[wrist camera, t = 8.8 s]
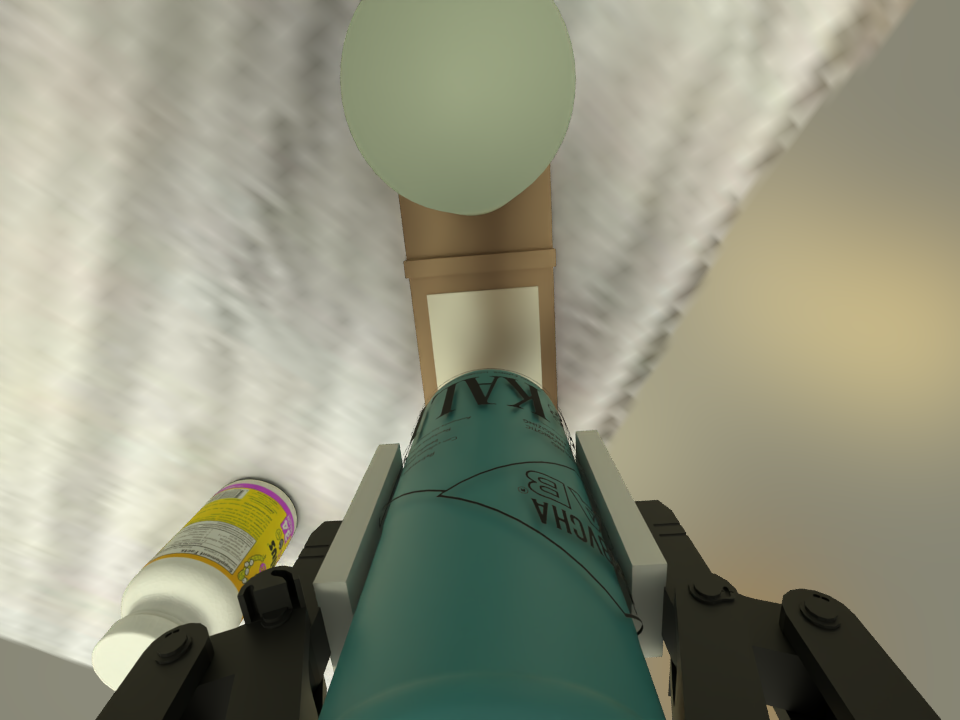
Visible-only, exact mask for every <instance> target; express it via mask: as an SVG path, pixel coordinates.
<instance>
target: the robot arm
mask: <svg viewBox="0 0 960 720" xmlns="http://www.w3.org/2000/svg"><path fill="white" fill-rule="evenodd" d="M577 459H578V460H577ZM577 462H578V463H577ZM579 462H580V463H579ZM576 463H577V464H576V465H578V466H577V468H578V471H579V473H580V476H581V479H582V481H583V482H584V483H583V484H585V485H584V487H585V490H586V493H587V495H588V498H589V501H590V504H591V507H592V509H593V512H594V510H595V512H596V513H597V514H596V513H595V514H594V515H595V518H596V520H597V523H598V526H599V518H600V519H601V534H602V537H603V540H604V541H605V542H606V545H607V547H608V550H609V548H610V549H611V552H612V555H613V557H614V560H615V563H616V562H617V561H618V562H619V563H618V562H617V564H619V565H618V566H620V567H621V568H620V567H619V568H620V569H622V571H623V573H622V574H624V576H622V574H621V572H622V571H621V572H620V574H619V573H618V571H617V568H616V566H615V563H614V560H613V558H612V555H611V552H610V550H609V553H610V556H611V558H612V561H613V564H614V566H615V568H614V570H615V573H616V576H617V578H618V581H619V584H620V587H621V589H622V592H623V595H624V598H625V600H626V603H627V606H628V609H629V611H630V614H632V615H635V616H637V617H639V619H640V620H641V621H642V623H643V630H642V632H641V633H640V634H639V635H638V639H639V643H640V646H641V649H642V652H643V655H644V658H647V657H662V651H663V640H664V642H665V644H666V647H667V649H668V652H669V654H670V656H671V660H670V676H669V693H668V696H671V704H672V720H770V719H769V715H768V710H767V707H766V705H770V706H773V708H774V710H775V712H776V714H777V716H778V718H779V720H941V719H940V718H939V716H938V715H937V714H936V713H935V711H934V710H933V709H932V708H931V707H930V706H929V704H928V703H927V702H926V701H925V699H924V698H923V697H922V696H921V694H920V693H919V692H918V691H917V690H916V688H915V687H914V686H913V685H912V684H911V682H910V681H909V680H908V679H907V678H906V676H905V675H904V674H903V673H902V672H901V670H900V669H899V668H898V667H897V665H896V664H895V663H894V662H893V661H892V659H891V658H890V657H889V656H888V654H886V652H885V651H884V650H883V648H882V647H881V646H880V645H879V644H878V642H877V641H876V640H875V639H874V637H873V636H872V635H871V634H870V633H869V632H868V630H867V629H866V628H865V627H864V625H863V624H862V623H861V622H860V621H859V619H858V618H857V617H856V616H855V614H853V613H852V612H851V611H850V610H849V609H848V608H847V607H846V606H845V605H844V604H842V603H841V602H839V601H837V600H836V599H834V598H832V597H830V596H828V595H825V594H823V593H820V592H817V591H814V590H807V589H796V590H790V591H789V592H787V593H786V594H785V595H783V600H782V604H778V603H773V602H768V601H762V600H758V599H753V598H749V597H746V596H743V595H741V594H738V593H737V590H736V589H735V588H734V587H733V586H732V585H731V584H730V583H729V582H728V581H727V580H725V579H723V578H722V577H720V576H718V575H716V574H713V573H711V571H710V569H709V568H708V566H707V565H706V563H705V562H704V560H703V559H702V557H701V555H700V554H699V552H698V551H697V549H696V548H695V546H694V545H693V543H692V541H691V540H690V538H689V537H688V536H687V535H686V532H685V530H684V529H683V527H682V526H681V525H680V523H679V521H678V520H677V518H676V517H675V515H674V513H673V512H672V510H670V509H669V508H668V507H666V506H665V505H664V504H662V503H661V502H660V501H658V500H650V501H634V500H633V498H632V496H631V494H630V492H629V491H628V489H627V487H626V485H625V483H624V481H623V479H622V477H621V475H620V473H619V472H618V470H617V468H616V466H615V464H614V462H613V460H612V458H611V457H610V455H609V453H608V451H607V449H606V447H605V445H604V443H603V441H602V439H601V437H600V436H599V434H598V432H597V430H592V431H577V432H576ZM580 464H581V465H580ZM401 465H402V458H401V451H400V444H399V443H398V444H383V445H379V446H378V448H377V450H376V452H375V454H374V456H373V458H372V461H371V463H370V465H369V467H368V469H367V471H366V473H365V475H364V477H363V479H362V481H361V484H360V486H359V488H358V490H357V492H356V494H355V496H354V498H353V500H352V502H351V504H350V507H349V509H348V511H347V513H346V515H345V517H344V519H343V520H342V521H325V522H323V523H322V524H321V525H320V526H319V527H318V528H317V529H316V530H315V531H314V532H312V533H311V535H310V537H309V539H308V541H307V542H306V544H305V546H304V549H303V550H302V551H301V553H300V555H299V558H298V559H297V560H296V562H295V564H294V566H293V567H288V566H278V567H272V568H269V569H267V570H264V571H261V572H260V573H258V574H256V575H255V576H253V577H252V578H250V579H249V580H248V581H247V582H246V583H245V584H244V585H243V586H242V587H241V589H240V591H239V593H238V595H237V598H238V601H239V605H240V608H241V611H242V614H243V618H244V621H245V624H244V625H242V626H239V627H237V628H233V629H230V630H227V631H224V632H221V633H218V634H214V635H211V636H210V635H209V633H208V630H207V627H205V626H204V625H202V624H201V623H188V624H184V625H180V626H177V627H175V628H173V629H171V630H169V631H167V632H165V633H164V634H162V635H161V636H160V637H158V638H157V639H156V640H154V641H153V642H152V643H151V644H150V645H149V646H148V648H147V649H146V650H145V651H144V652H143V653H142V655H141V656H140V657H139V659H138V660H137V662H136V663H135V665H134V666H133V667H132V669H131V670H130V672H129V673H128V674H127V676H126V677H125V679H124V680H123V682H122V683H121V684H120V686H119V687H118V689H117V690H116V691H115V693H114V694H113V696H112V697H111V699H110V700H109V701H108V703H107V704H106V706H105V707H104V708H103V710H102V712H101V713H100V714H99V716H98V717H97V718H96V720H318V719H319V716H320V713H321V710H322V707H323V704H324V701H325V698H326V695H327V687H326V683H325V679H324V675H323V674H324V672H325V669H326V666H327V663H328V661H329V658H331V662H332V666H333V670H334V672H335V669H336V666H337V663H338V660H339V657H340V654H341V651H342V649H343V646H344V643H345V640H346V637H347V634H348V631H349V628H350V625H351V622H352V619H353V616H354V614H355V611H356V608H357V605H358V602H359V599H360V596H361V593H362V590H363V587H364V584H365V581H366V579H367V576H368V573H369V570H370V567H371V564H372V561H373V558H374V555H375V552H376V549H377V546H378V543H379V541H380V538H381V535H382V529H383V524H384V521H385V518H386V515H387V512H388V509H389V507H390V504H391V503H390V504H388V502H390V501H392V498H393V496H394V493H395V490H396V487H397V485H398V482H399V479H400V476H401V474H402V472H401V471H403V466H401ZM579 465H580V466H579ZM581 466H582V468H580V467H581ZM401 467H402V469H401ZM579 468H580V469H581V470H582V469H583V470H584V471H583V470H582V472H583V473H582V472H581V471H580V469H579ZM400 470H401V471H400ZM584 472H585V473H584ZM399 473H400V475H399ZM398 475H399V477H397V476H398ZM586 477H587V478H586ZM397 478H398V479H397ZM587 480H588V481H587ZM396 481H397V482H396ZM395 483H396V485H395ZM392 485H393V486H392ZM394 486H395V488H394ZM586 487H587V488H586ZM393 489H394V490H393ZM587 489H588V490H587ZM392 491H393V493H392ZM589 492H590V493H589ZM391 494H392V496H391ZM590 494H591V495H590ZM390 497H391V498H390ZM592 497H593V498H592ZM593 499H594V500H593ZM389 500H390V501H389ZM594 501H595V502H594ZM387 504H388V507H387V506H386V505H387ZM385 506H386V507H385ZM384 508H385V509H384ZM386 508H387V509H386ZM383 509H384V510H383ZM382 510H383V511H382ZM385 510H386V512H385ZM599 512H600V513H599ZM384 513H385V515H384ZM600 514H601V515H600ZM380 515H381V516H380ZM383 516H384V517H383ZM598 516H599V517H598ZM379 518H380V524H381V526H380V527H379ZM382 518H383V520H382ZM602 519H603V520H602ZM381 521H382V523H381ZM602 522H603V523H602ZM603 524H604V526H605V527H604V526H603ZM605 528H606V529H605ZM606 530H607V531H606ZM607 532H608V533H607ZM608 537H609V538H608ZM612 548H613V549H612ZM615 554H616V555H615ZM616 559H617V560H616ZM617 564H616V565H617ZM614 566H613V567H614ZM619 571H620V570H619ZM623 577H625V578H624V579H625V580H626V581H624V579H623ZM625 582H627V584H626V583H625ZM627 585H628V586H627ZM626 586H627V587H626ZM628 587H629V589H628V590H627V588H628ZM629 590H630V592H631V593H630V592H628V591H629ZM629 594H631V595H632V596H631V597H632V599H633V602H634V604H635V605H634V606H633V604H632V601H631V598H630V595H629ZM634 607H635V609H634ZM635 610H636V612H637V614H636V612H635ZM632 620H633V622H634V625H635V628H636V632H638V631H639V630H640V628H641V626H642V623H641V622H640V621H639V620H636V619H634V618H632Z"/></svg>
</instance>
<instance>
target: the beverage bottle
mask: <svg viewBox="0 0 960 720" xmlns="http://www.w3.org/2000/svg"><path fill="white" fill-rule="evenodd" d="M476 370H477V371H473V370H471V371H472V372H470V371H468V372H469V373H466V372H464V373H466V374H463V373H461V374H463V375H461V376H459V377H456V376H454V377H456V378H455V379H453V380H451V381H449V382H448V383H447V384H445V385H444V386H443V387H441V388H440V389H438V390H437V391H436V392H435V393H434V394H435V395H434V394H433V395H434V396H433V395H432V396H433V397H432V396H431V397H432V398H431V397H430V396H429V397H430V398H431V400H430V401H429V399H428V401H429V402H428V405H426V406H425V405H424V406H425V407H424V409H423V410H422V412H421V411H420V412H421V413H420V414H421V415H419V416H420V417H419V420H418V423H417V425H416V428H415V429H414V430H415V431H414V433H413V432H412V433H413V436H412V439H411V441H410V444H411V443H412V440H413V439H414V441H413V443H412V446H411V449H410V452H408V451H407V452H408V453H409V454H408V457H406V456H405V458H406V459H403V460H406V463H405V461H404V462H403V463H404V468H403V471H401V470H400V471H401V472H402V474H401V476H400V479H399V482H398V485H397V487H396V490H395V493H394V496H393V498H392V501H390V500H389V501H390V502H388V504H390V503H391V504H390V507H389V509H388V512H387V515H386V518H385V521H384V524H383V529H382V535H381V538H380V541H379V543H378V546H377V549H376V552H375V555H374V558H373V561H372V564H371V567H370V570H369V573H368V576H367V579H366V581H365V584H364V587H363V590H362V593H361V596H360V599H359V602H358V605H357V608H356V611H355V614H354V616H353V619H352V622H351V625H350V628H349V631H348V634H347V637H346V640H345V643H344V646H343V649H342V651H341V654H340V657H339V660H338V663H337V666H336V669H335V672H334V675H333V678H332V681H331V684H330V686H329V689H328V692H327V695H326V698H325V701H324V704H323V707H322V710H321V713H320V716H319V719H318V720H666V718H665V716H664V713H663V710H662V707H661V704H660V701H659V698H658V695H657V692H656V689H655V686H654V684H653V681H652V678H651V675H650V672H649V669H648V666H647V663H646V660H645V658H644V655H643V652H642V649H641V646H640V643H639V639H638V635H639V634H640V633H641V632H642V630H643V623H642V621H641V620H640V619H639V617H637V616H635V615H632V614H630V611H629V609H628V606H627V603H626V600H625V598H624V595H623V592H622V589H621V587H620V584H619V581H618V578H617V576H616V573H615V570H614V568H615V566H616V568H617V571H618V573H619V574H620V572H621V571H622V569H620V568H621V567H620V566H618V565H619V564H617V562H618V561H617V562H616V563H615V560H614V557H613V555H612V552H611V549H610V548H609V550H610V552H611V555H612V558H613V560H614V563H615V566H614V564H613V561H612V558H611V556H610V553H609V550H608V547H607V545H606V542H605V541H604V540H603V537H602V534H601V519H600V518H599V526H598V523H597V520H596V518H595V515H594V514H595V513H596V512H595V510H594V512H593V509H592V507H591V504H590V501H589V498H588V495H587V493H586V490H585V487H584V485H585V484H583V483H584V482H583V481H582V479H581V476H580V473H579V471H578V468H577V466H578V465H576V464H577V463H578V462H577V463H576V462H575V460H576V459H575V460H574V456H573V454H572V453H573V452H572V450H573V449H572V450H571V445H572V444H570V446H569V442H568V441H569V438H568V440H567V437H566V436H567V432H569V430H568V431H567V432H566V435H565V432H564V429H563V425H562V423H561V422H562V420H561V418H559V417H560V416H559V414H558V412H557V410H556V408H557V407H556V408H555V406H554V404H553V403H552V401H551V400H550V398H551V397H550V398H549V397H548V396H547V395H548V394H547V395H546V392H545V391H544V390H543V389H542V388H540V387H539V386H538V385H536V384H535V383H533V382H532V381H530V380H529V379H527V378H525V377H523V376H521V375H518V374H516V373H517V372H516V373H512V372H514V371H512V372H509V371H510V370H507V371H504V370H505V369H502V370H496V368H485V369H484V370H480V369H476ZM519 374H520V373H519ZM459 375H460V374H459ZM522 375H523V374H522ZM457 376H458V375H457ZM524 376H525V375H524ZM526 377H527V376H526ZM528 378H529V377H528ZM451 379H452V378H451ZM530 379H531V378H530ZM449 380H450V379H449ZM532 380H533V379H532ZM447 381H448V380H447ZM447 381H446V382H447ZM533 381H534V380H533ZM535 382H536V381H535ZM444 383H445V382H444ZM444 383H443V384H444ZM538 384H539V383H538ZM539 385H540V384H539ZM440 386H441V385H440ZM440 386H439V387H440ZM544 389H545V388H544ZM545 390H546V389H545ZM546 391H547V390H546ZM547 392H548V391H547ZM548 393H549V392H548ZM426 401H427V400H426ZM553 401H554V400H553ZM555 402H556V401H555ZM555 402H554V403H555ZM426 403H427V402H426ZM424 404H425V403H424ZM557 405H558V404H557ZM425 408H426V409H425ZM559 410H560V409H559ZM559 412H561V411H559ZM560 414H561V413H560ZM561 416H562V415H561ZM562 418H563V420H564V417H562ZM564 422H565V420H564ZM565 426H566V427H567V425H566V423H565ZM567 429H568V428H567ZM569 434H570V433H569ZM411 435H412V434H411ZM569 437H570V435H569ZM570 440H571V441H572V438H571V437H570ZM572 442H573V441H572ZM572 446H573V447H574V449H575V446H574V443H573V445H572ZM409 447H410V445H409ZM407 448H408V447H407ZM408 449H409V448H408ZM575 450H576V449H575ZM575 454H576V453H575ZM406 455H407V454H406ZM402 458H403V457H402ZM575 458H576V457H575ZM577 460H578V459H577ZM579 463H580V462H579ZM580 465H581V464H580ZM580 465H579V466H580ZM401 466H403V464H402V465H401ZM580 468H582V466H581V467H580ZM580 468H579V469H580ZM401 469H402V467H401ZM582 470H583V469H582ZM582 470H581V469H580V471H581V472H582ZM583 471H584V470H583ZM582 473H583V472H582ZM584 473H585V472H584ZM399 475H400V473H399ZM399 475H398V476H397V477H399ZM586 478H587V477H586ZM397 479H398V478H397ZM587 481H588V480H587ZM396 482H397V481H396ZM395 485H396V483H395ZM392 486H393V485H392ZM394 488H395V486H394ZM586 488H587V487H586ZM393 490H394V489H393ZM587 490H588V489H587ZM392 493H393V491H392ZM589 493H590V492H589ZM590 495H591V494H590ZM391 496H392V494H391ZM390 498H391V497H390ZM592 498H593V497H592ZM593 500H594V499H593ZM594 502H595V501H594ZM388 504H387V505H386V506H387V507H388ZM386 506H385V507H386ZM384 509H385V508H384ZM384 509H383V510H384ZM386 509H387V508H386ZM383 510H382V511H383ZM385 512H386V510H385ZM599 513H600V512H599ZM596 514H597V513H596ZM384 515H385V513H384ZM600 515H601V514H600ZM380 516H381V515H380ZM383 517H384V516H383ZM598 517H599V516H598ZM382 520H383V518H382ZM602 520H603V519H602ZM381 523H382V521H381ZM602 523H603V522H602ZM380 526H381V524H380V518H379V527H380ZM603 526H604V524H603ZM604 527H605V526H604ZM605 529H606V528H605ZM606 531H607V530H606ZM607 533H608V532H607ZM608 538H609V537H608ZM612 549H613V548H612ZM615 555H616V554H615ZM616 560H617V559H616ZM618 563H619V562H618ZM616 564H617V565H616ZM613 566H614V567H613ZM619 567H620V568H619ZM619 570H620V571H619ZM622 573H623V571H622V572H621V574H622ZM622 576H624V574H622ZM624 578H625V577H623V579H624ZM624 581H626V580H625V579H624ZM625 583H626V584H627V582H625ZM627 586H628V585H627ZM627 586H626V587H627ZM628 589H629V587H628V588H627V590H628ZM628 592H630V590H629V591H628ZM630 593H631V592H630ZM629 595H630V598H631V601H632V604H633V606H634V605H635V604H634V602H633V599H632V597H631V596H632V595H631V594H629ZM634 609H635V607H634ZM635 612H636V610H635ZM636 614H637V612H636ZM632 618H634V619H636V620H639V621H640V622H641V623H642V626H641V628H640V630H639V631H638V632H636V628H635V625H634V622H633V620H632Z"/></svg>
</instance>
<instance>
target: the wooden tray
mask: <svg viewBox="0 0 960 720" xmlns="http://www.w3.org/2000/svg"><path fill="white" fill-rule="evenodd" d="M398 195H399V202H400V210H401V218H402V226H403V234H404V242H405V249H406V257H407V260H405V261H403V262H404V270H405V278H409V281H410V289H411V296H412V304H413V312H414V320H415V328H416V336H417V343H418V351H419V359H420V367H421V375H422V383H423V390H424V398H425V406H426V405H428V402H429V401H430V400H431V398H432V397H433V396H434V395H435V394H434V393H435V392H436V391H437V390H438V389H440V388H441V387H443V386H444V385H445V384H447V383H448V382H449V381H451V380H453V379H455V378H456V377H459V376H461V375H463V374H466V373H469V372H468V371H470V372H472V371H471V370H473V371H477V370H476V369H480V370H484V369H485V368H496V370H502V369H505V370H504V371H507V370H510V371H509V372H512V371H514V372H512V373H516V372H517V373H516V374H518V375H521V376H523V377H525V378H527V379H529V380H530V381H532V382H533V383H535V384H536V385H538V386H539V387H540V388H542V389H543V390H544V391H545V392H546V395H547V394H548V395H547V396H548V397H549V398H550V397H551V398H550V400H551V401H552V403H553V404H554V406H555V408H556V407H557V377H556V344H555V312H554V279H553V267H554V266H556V250H555V249H554V248H553V247H552V215H551V182H550V164H549V165H548V166H547V168H546V169H545V170H544V172H543V173H542V174H541V175H540V176H539V177H538V178H537V179H536V180H535V181H534V182H533V183H532V184H531V185H530V186H529V187H527V188H526V189H525V190H524V191H522V192H521V193H520V194H519V195H517V196H516V197H515V198H513V199H512V200H511V201H509V202H508V203H507V204H505V205H504V206H502V207H500V208H499V209H497V210H495V211H493V212H490V213H487V214H483V215H476V216H467V215H460V214H454V213H449V212H443V211H438V210H435V209H431V208H427V207H424V206H422V205H419V204H417V203H415V202H412V201H410V200H409V199H407V198H405V197H403V196H402V195H400V194H399V193H398ZM464 372H466V373H464ZM461 373H463V374H461ZM519 373H520V374H519ZM459 374H460V375H459ZM522 374H523V375H522ZM457 375H458V376H457ZM524 375H525V376H524ZM454 376H456V377H454ZM526 376H527V377H526ZM528 377H529V378H528ZM451 378H452V379H451ZM530 378H531V379H530ZM449 379H450V380H449ZM532 379H533V380H534V381H533V380H532ZM447 380H448V381H447ZM446 381H447V382H446ZM535 381H536V382H535ZM444 382H445V383H444ZM443 383H444V384H443ZM538 383H539V384H540V385H539V384H538ZM440 385H441V386H440ZM439 386H440V387H439ZM544 388H545V389H546V390H547V391H548V392H549V393H548V392H547V391H546V390H545V389H544ZM433 394H434V395H433ZM432 395H433V396H432ZM429 396H430V397H431V396H432V397H431V398H430V397H429ZM428 399H429V401H428ZM426 400H427V401H426ZM553 400H554V401H553ZM555 401H556V402H555ZM426 402H427V403H426ZM554 402H555V403H554ZM556 410H557V412H558V409H557V408H556Z"/></svg>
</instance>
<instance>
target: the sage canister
mask: <svg viewBox="0 0 960 720" xmlns="http://www.w3.org/2000/svg"><path fill="white" fill-rule="evenodd" d="M575 81H576V76H575V62H574V56H573V50H572V45H571V41H570V38H569V35H568V32H567V28H566V25H565V23H564V21H563V19H562V17H561V14H560V12H559V10H558V8H557V7H556V5H555V3H554V2H553V0H361V2H360V4H359V5H358V7H357V9H356V11H355V13H354V15H353V17H352V20H351V23H350V25H349V28H348V30H347V34H346V38H345V42H344V45H343V51H342V58H341V71H340V85H341V95H342V103H343V107H344V112H345V117H346V120H347V123H348V126H349V129H350V132H351V134H352V136H353V138H354V141H355V143H356V145H357V147H358V149H359V150H360V152H361V154H362V155H363V157H364V159H365V160H366V162H367V163H368V164H369V166H370V167H371V168H372V169H373V171H374V172H375V173H376V174H377V175H378V176H379V177H380V178H381V179H382V180H383V181H384V182H385V183H386V184H387V185H388V186H389V187H391V188H392V189H393V190H395V191H396V192H397V193H399V194H400V195H402V196H403V197H405V198H407V199H409V200H410V201H412V202H415V203H417V204H419V205H422V206H424V207H427V208H431V209H435V210H438V211H443V212H449V213H454V214H460V215H467V216H476V215H483V214H487V213H490V212H493V211H495V210H497V209H499V208H500V207H502V206H504V205H505V204H507V203H508V202H509V201H511V200H512V199H513V198H515V197H516V196H517V195H519V194H520V193H521V192H522V191H524V190H525V189H526V188H527V187H529V186H530V185H531V184H532V183H533V182H534V181H535V180H536V179H537V178H538V177H539V176H540V175H541V174H542V173H543V172H544V170H545V169H546V168H547V166H548V165H549V164H550V162H551V161H552V159H553V158H554V156H555V154H556V153H557V151H558V149H559V147H560V145H561V143H562V141H563V139H564V136H565V134H566V131H567V129H568V125H569V122H570V118H571V115H572V110H573V104H574V98H575Z"/></svg>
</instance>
